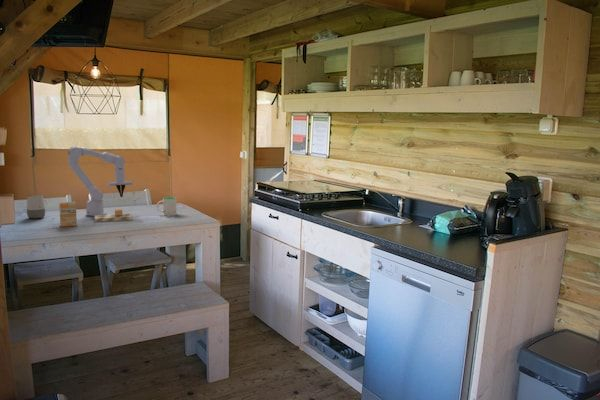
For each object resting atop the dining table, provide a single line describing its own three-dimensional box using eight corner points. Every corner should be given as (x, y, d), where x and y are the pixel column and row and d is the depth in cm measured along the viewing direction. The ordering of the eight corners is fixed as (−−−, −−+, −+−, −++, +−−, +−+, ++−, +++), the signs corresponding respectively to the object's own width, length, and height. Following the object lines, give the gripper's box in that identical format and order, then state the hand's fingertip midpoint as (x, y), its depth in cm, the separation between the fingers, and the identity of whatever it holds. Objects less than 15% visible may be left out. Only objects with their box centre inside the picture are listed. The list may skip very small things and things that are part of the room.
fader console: (94, 221, 279) (94, 218, 278) (94, 218, 288) (94, 215, 287) (131, 219, 286) (131, 216, 286) (130, 216, 295) (130, 213, 295)
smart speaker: (40, 216, 292) (38, 193, 290) (48, 217, 287) (47, 194, 285) (24, 218, 284) (22, 194, 282) (32, 220, 279) (31, 196, 277)
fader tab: (115, 215, 285) (115, 210, 285) (115, 214, 289) (114, 209, 288) (122, 215, 287) (122, 210, 286) (122, 214, 290) (121, 209, 290)
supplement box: (60, 227, 263) (59, 203, 261) (60, 225, 268) (59, 202, 266) (77, 225, 267) (76, 202, 265) (76, 224, 271) (75, 201, 269)
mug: (158, 216, 299) (158, 199, 297) (155, 214, 306) (155, 197, 304) (178, 214, 305) (177, 198, 303) (174, 212, 312) (174, 196, 310)
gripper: (107, 176, 296) (109, 198, 298) (132, 175, 301) (133, 196, 304) (107, 175, 303) (109, 196, 305) (131, 174, 308) (133, 195, 310)
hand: (121, 196), depth 305 cm, fingers closed
